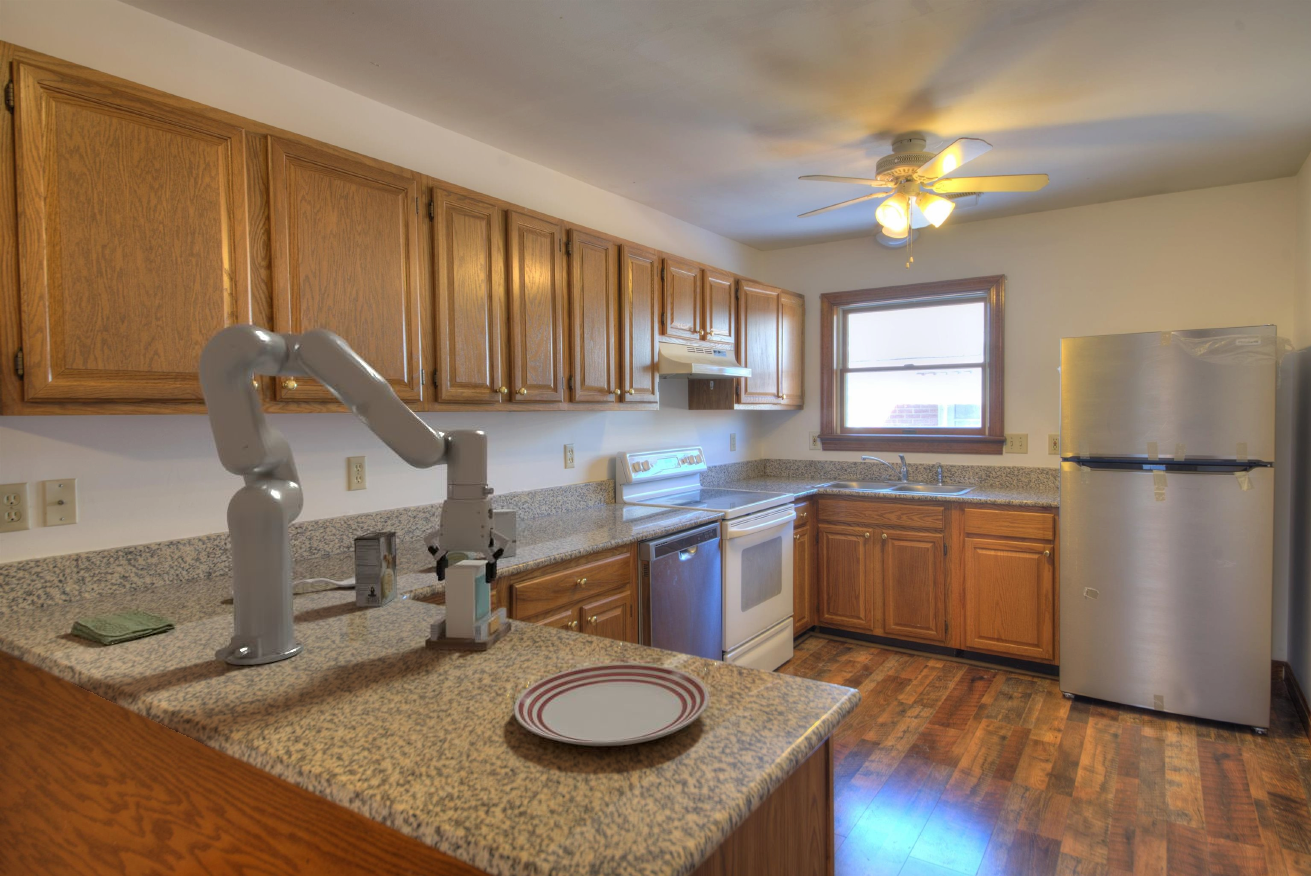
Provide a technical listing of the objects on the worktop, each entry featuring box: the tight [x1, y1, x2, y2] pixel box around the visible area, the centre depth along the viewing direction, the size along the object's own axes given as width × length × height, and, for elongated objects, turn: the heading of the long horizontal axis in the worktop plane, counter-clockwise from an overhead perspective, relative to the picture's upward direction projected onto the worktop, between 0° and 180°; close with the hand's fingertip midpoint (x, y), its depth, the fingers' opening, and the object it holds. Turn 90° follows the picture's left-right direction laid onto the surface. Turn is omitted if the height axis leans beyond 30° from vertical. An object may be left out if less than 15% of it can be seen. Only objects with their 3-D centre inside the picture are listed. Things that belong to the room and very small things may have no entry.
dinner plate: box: [513, 662, 710, 747], centre depth 98 cm, size 27×27×3 cm
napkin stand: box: [424, 621, 512, 652], centre depth 135 cm, size 13×12×2 cm
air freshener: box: [446, 552, 475, 567], centre depth 205 cm, size 11×8×10 cm
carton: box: [444, 559, 492, 638], centre depth 135 cm, size 6×8×13 cm
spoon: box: [230, 576, 355, 597], centre depth 175 cm, size 9×32×4 cm, turn 120°
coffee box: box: [353, 531, 398, 608], centre depth 165 cm, size 9×6×16 cm
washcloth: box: [70, 609, 176, 645], centre depth 143 cm, size 13×18×3 cm
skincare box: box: [493, 508, 517, 559], centre depth 221 cm, size 8×6×15 cm
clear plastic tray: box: [429, 607, 507, 642], centre depth 135 cm, size 13×10×3 cm
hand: (466, 580), depth 135 cm, fingers open, 9 cm apart
